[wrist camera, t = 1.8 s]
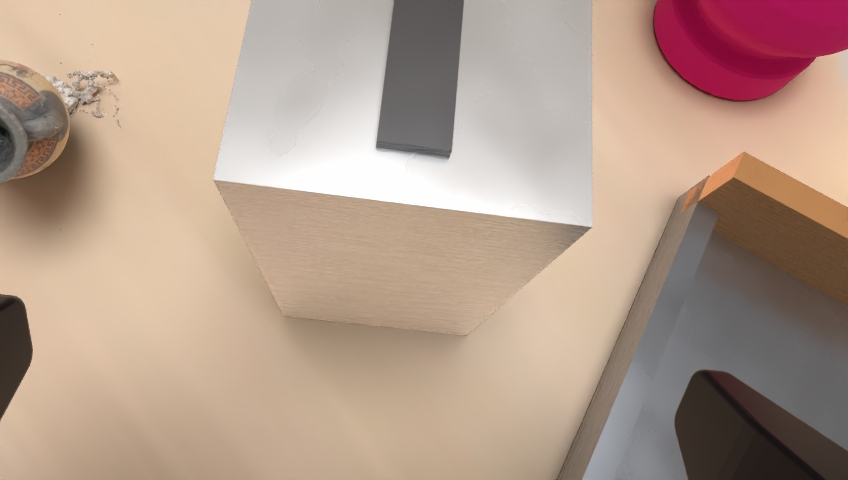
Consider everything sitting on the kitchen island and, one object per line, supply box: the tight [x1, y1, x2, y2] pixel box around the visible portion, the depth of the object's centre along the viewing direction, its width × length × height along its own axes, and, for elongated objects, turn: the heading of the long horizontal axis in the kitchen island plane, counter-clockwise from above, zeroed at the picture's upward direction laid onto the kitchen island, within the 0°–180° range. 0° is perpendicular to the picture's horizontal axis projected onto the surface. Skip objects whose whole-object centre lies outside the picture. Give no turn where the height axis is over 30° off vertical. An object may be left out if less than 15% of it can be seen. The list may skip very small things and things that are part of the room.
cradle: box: [558, 152, 848, 480], centre depth 19 cm, size 13×10×4 cm
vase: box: [0, 14, 122, 230], centre depth 18 cm, size 5×5×6 cm
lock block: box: [213, 0, 592, 336], centre depth 15 cm, size 5×6×11 cm
